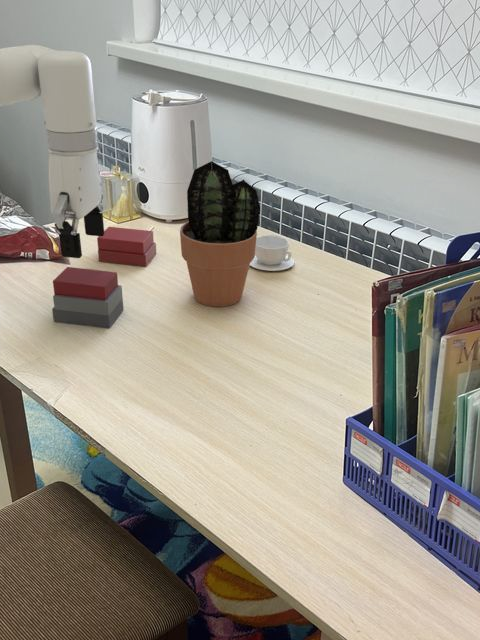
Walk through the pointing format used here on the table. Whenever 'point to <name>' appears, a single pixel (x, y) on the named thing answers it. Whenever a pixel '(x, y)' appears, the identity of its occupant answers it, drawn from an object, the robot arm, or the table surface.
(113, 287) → the burgundy book
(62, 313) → the grey book stack
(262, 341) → the table surface
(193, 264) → the potted plant
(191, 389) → the table surface
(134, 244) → the burgundy book stack
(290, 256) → the teacup
